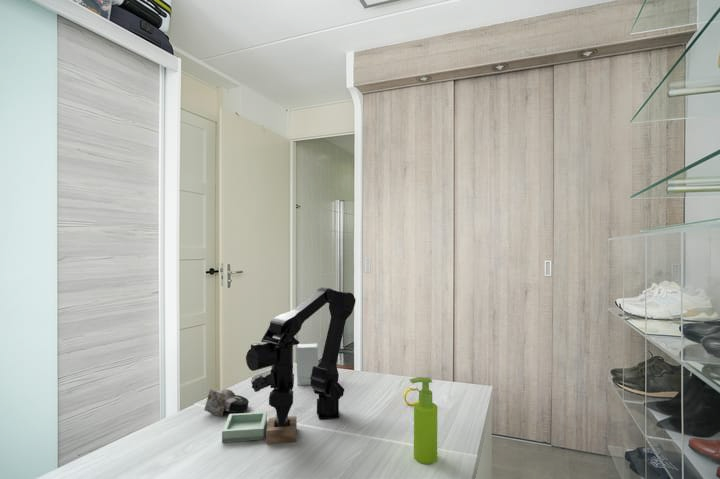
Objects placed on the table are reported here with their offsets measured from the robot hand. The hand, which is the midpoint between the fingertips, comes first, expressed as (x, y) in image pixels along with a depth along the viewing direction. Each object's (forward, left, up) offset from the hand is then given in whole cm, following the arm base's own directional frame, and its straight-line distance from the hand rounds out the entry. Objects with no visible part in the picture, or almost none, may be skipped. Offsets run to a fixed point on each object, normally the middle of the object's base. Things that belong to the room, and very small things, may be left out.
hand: (282, 417), depth 109 cm
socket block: (0, 0, -5) cm, 5 cm away
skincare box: (-8, -42, -5) cm, 43 cm away
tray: (+11, -4, -5) cm, 12 cm away
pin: (0, 0, -5) cm, 5 cm away
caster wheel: (+18, -20, -5) cm, 27 cm away
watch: (-43, -16, -5) cm, 46 cm away
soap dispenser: (-36, +17, -5) cm, 40 cm away
